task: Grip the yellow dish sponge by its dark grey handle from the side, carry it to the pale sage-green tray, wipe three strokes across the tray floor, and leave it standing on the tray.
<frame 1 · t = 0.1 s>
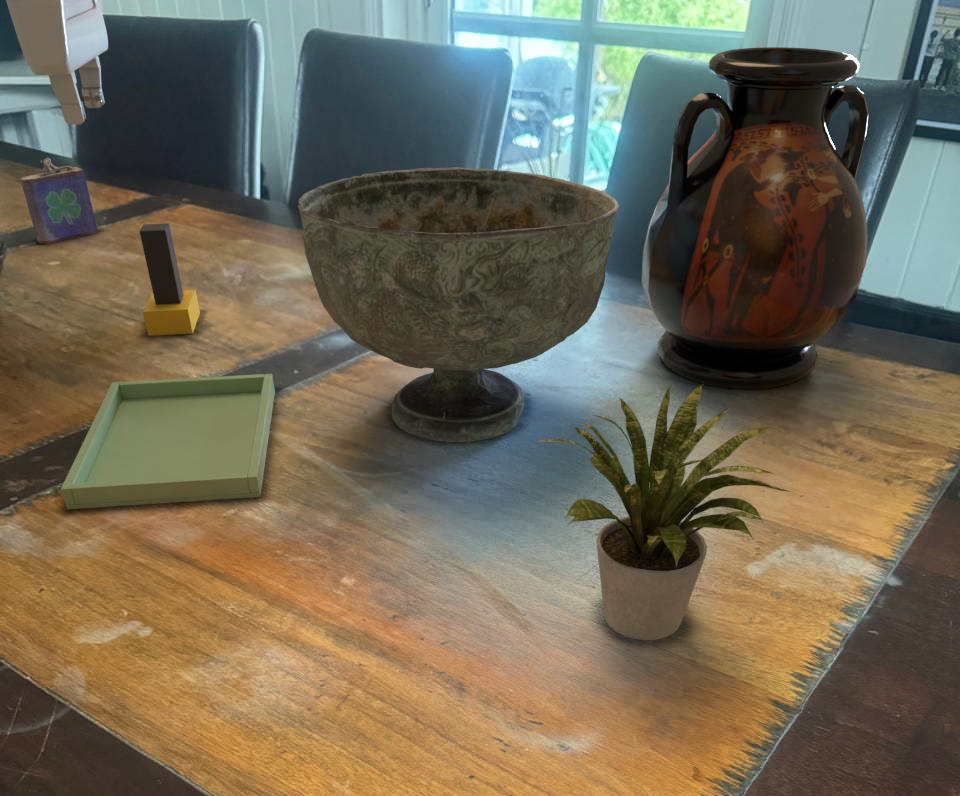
hand: (86, 115, 96), 22 cm above the table, tool pointing down, fingers open, 8 cm apart
decorative bowl: (461, 413, 91), on the table
tray: (182, 446, 86), on the table
house plant: (630, 630, 64), on the table
amphora vase: (734, 364, 100), on the table
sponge: (175, 325, 111), on the table
flask: (69, 239, 140), on the table
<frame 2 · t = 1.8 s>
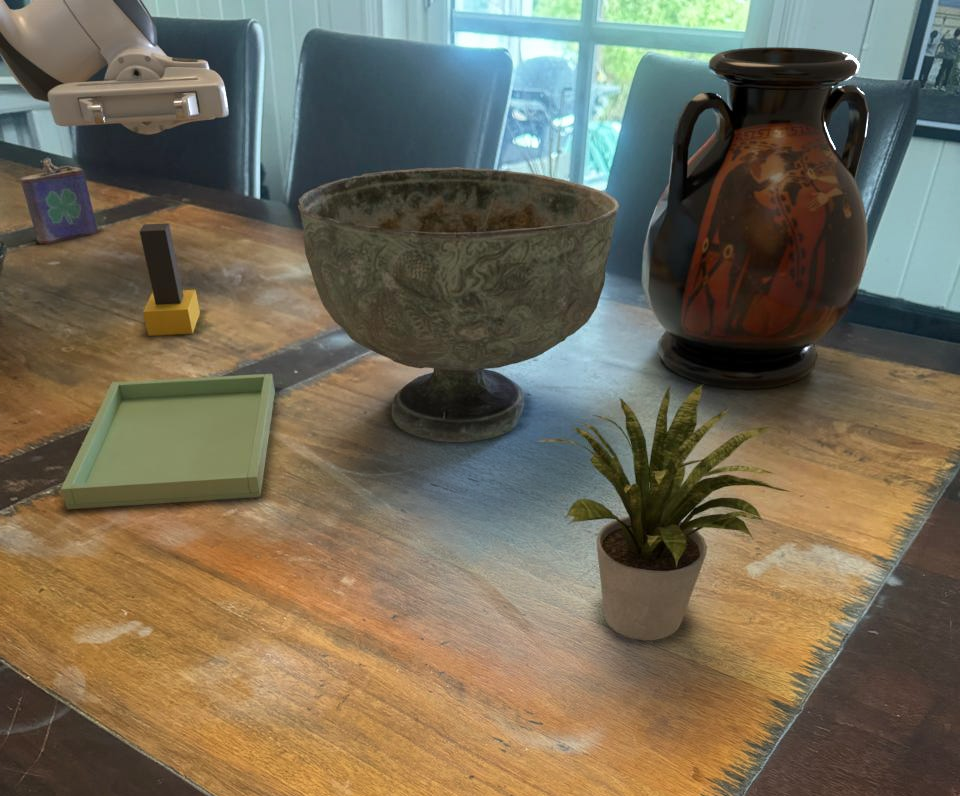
hand: (138, 112, 107), 20 cm above the table, tool horizontal, fingers open, 8 cm apart
nothing on the table moved.
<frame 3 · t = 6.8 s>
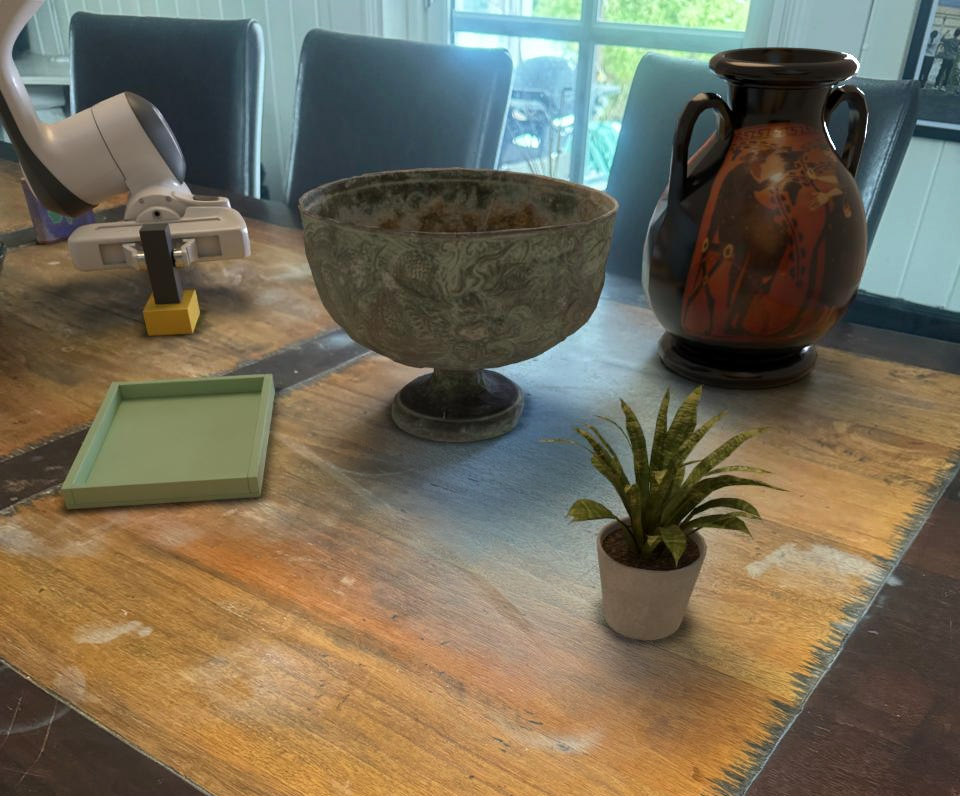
hand: (161, 261, 105), 8 cm above the table, tool horizontal, fingers closed on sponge, 3 cm apart
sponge: (175, 325, 111), on the table, touching gripper
everything else where it was.
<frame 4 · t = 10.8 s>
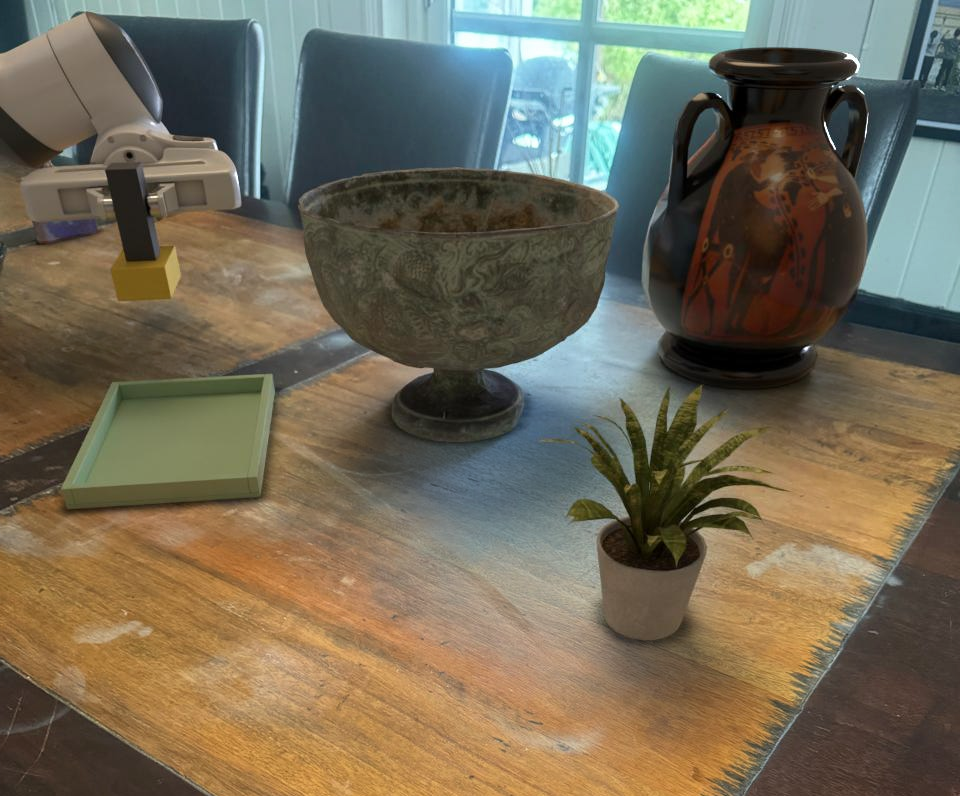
hand: (132, 209, 87), 17 cm above the table, tool horizontal, fingers closed on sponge, 3 cm apart
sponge: (150, 288, 92), point 9 cm above the table, touching gripper
everything else where it was.
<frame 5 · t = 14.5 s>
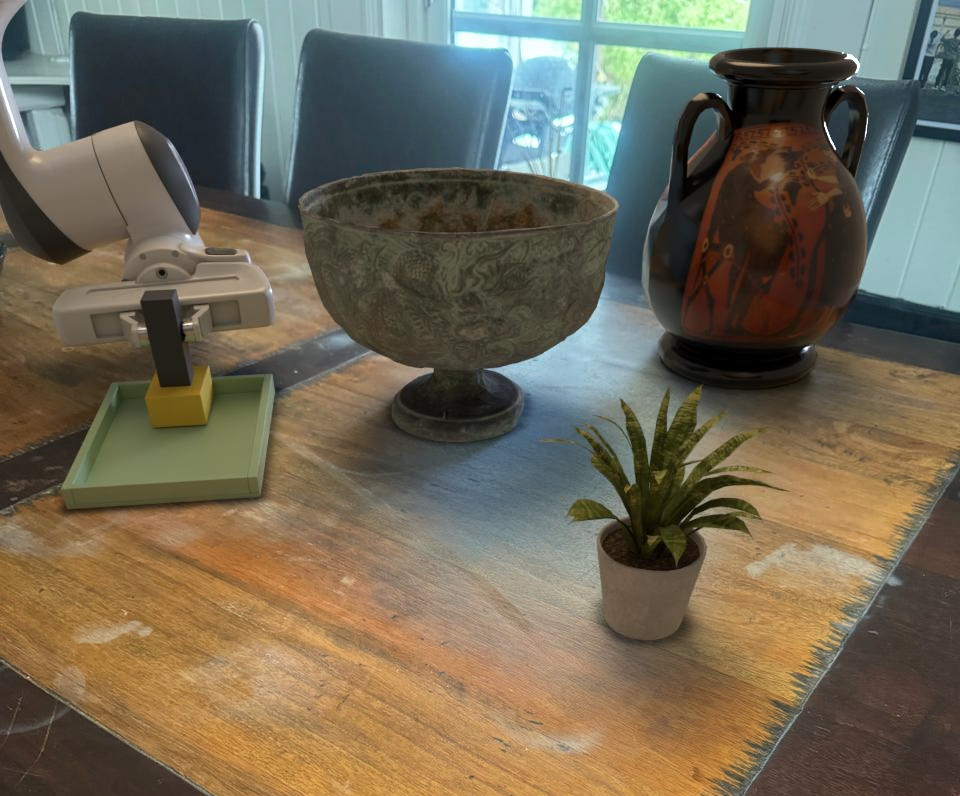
hand: (167, 336, 85), 8 cm above the table, tool horizontal, fingers closed on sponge, 3 cm apart
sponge: (184, 410, 90), point 1 cm above the table, touching gripper
everything else where it was.
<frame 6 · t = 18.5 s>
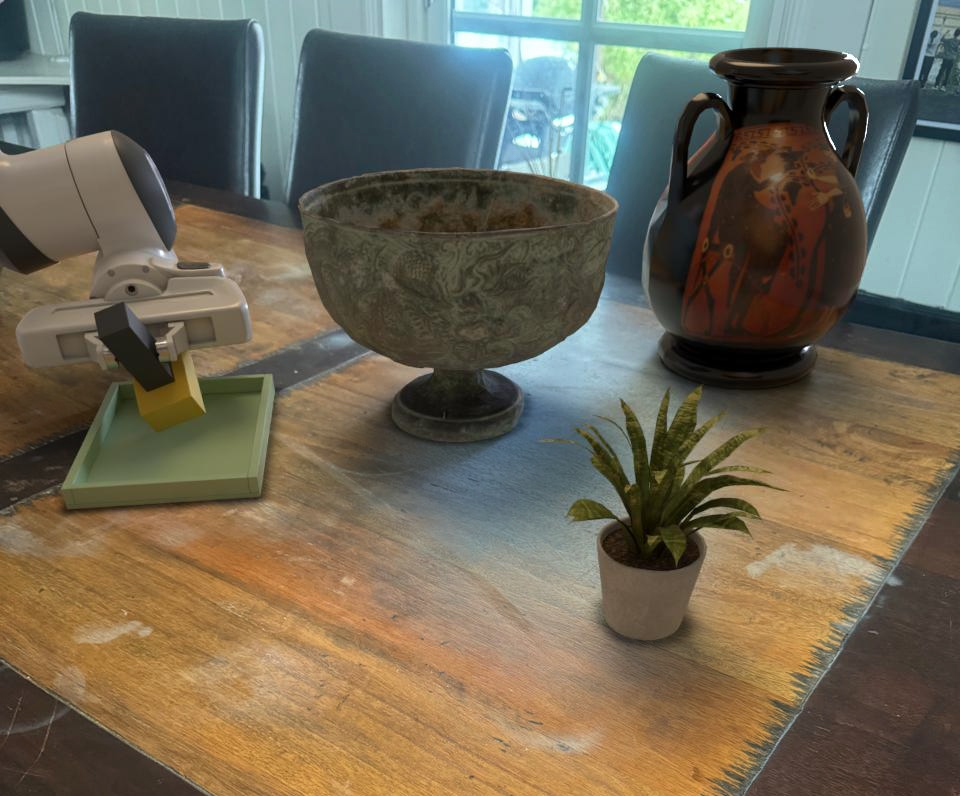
hand: (137, 357, 81), 8 cm above the table, tool horizontal, fingers closed on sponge, 3 cm apart
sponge: (174, 393, 88), point 3 cm above the table, tilted 35°, touching gripper, tray
everything else where it was.
when the fingers open (8 cm above the table, at t = 22.1 s): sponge drops 2 cm, resting on tray.
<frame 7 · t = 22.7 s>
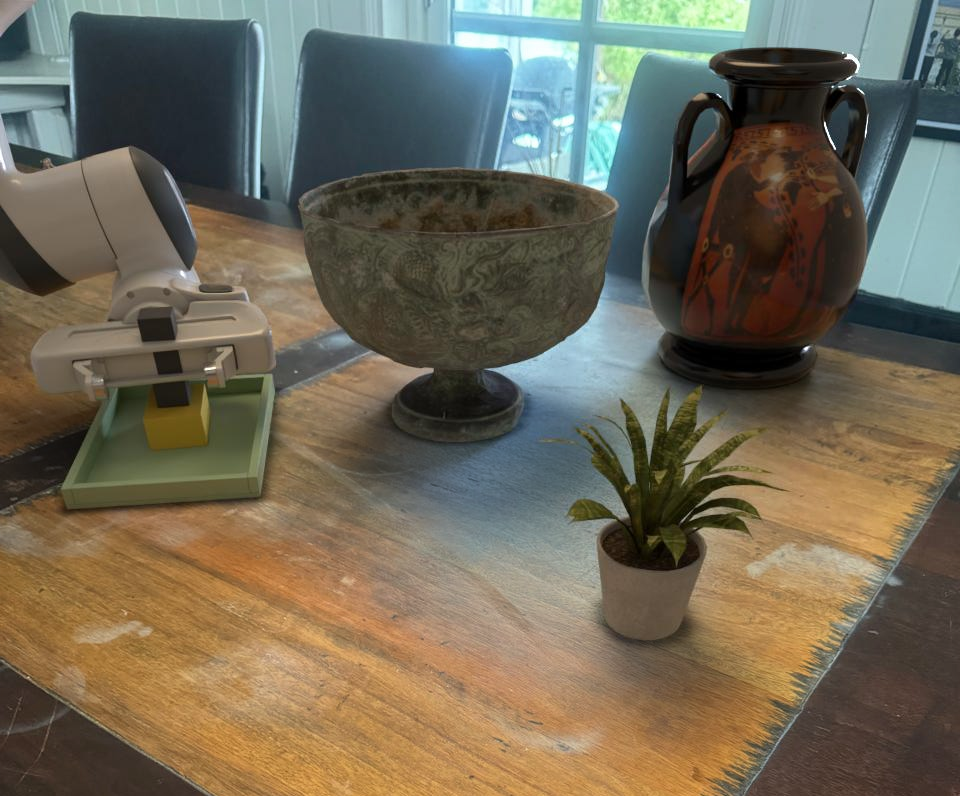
hand: (156, 386, 77), 8 cm above the table, tool horizontal, fingers open, 8 cm apart
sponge: (181, 431, 87), point 1 cm above the table, touching tray
everything else where it was.
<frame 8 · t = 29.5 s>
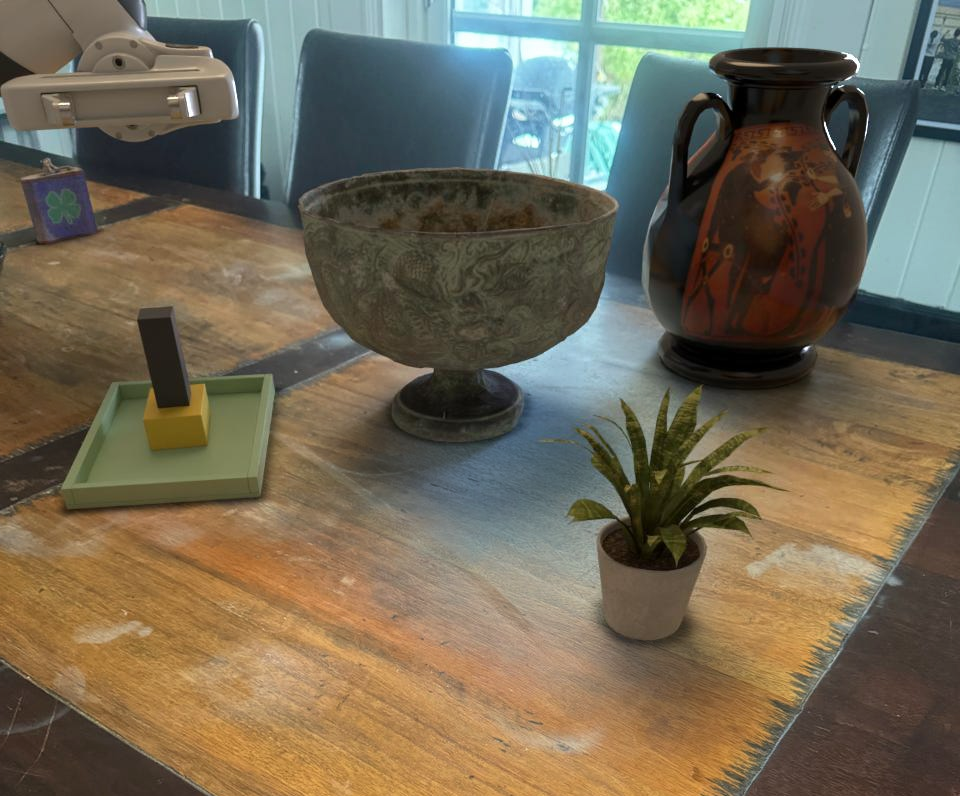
hand: (121, 112, 81), 25 cm above the table, tool horizontal, fingers open, 8 cm apart
nothing on the table moved.
at the end: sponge inside the target area in the tray (1.9 cm from its centre), point 0.6 cm above the tray's base; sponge tilted 0°; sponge moved 30.5 cm from its start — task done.
